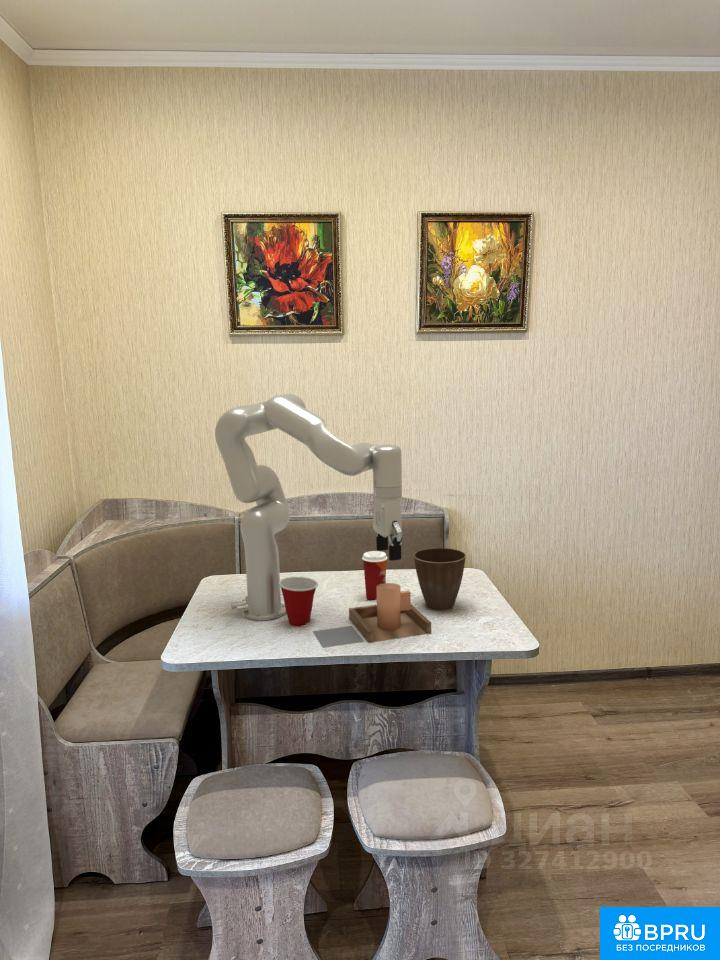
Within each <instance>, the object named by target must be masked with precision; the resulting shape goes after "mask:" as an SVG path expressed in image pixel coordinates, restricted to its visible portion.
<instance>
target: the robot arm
mask: <svg viewBox="0 0 720 960" xmlns="http://www.w3.org/2000/svg"><path fill="white" fill-rule="evenodd" d="M277 429H278V430H280V431H281V432H283V433H284V434H287V435H288V436H290V437H292V438H293V439H295V440H296V441H298V442H300V443H302V444H303V445H306V447H307V448H308V449H309V451H311V453H312V454H313V455H314V456H315V457H317V458H318V460H320V462H322V463H323V464H325V465H326V466H327V467H330V468H332V469H334V470H335V471H337V472H339V473H341V474H343V475H345V476H350V477H354V476H358V475H360V474H362V473H364V472H367V471H370V470H372V490H373V491H372V492H373V494H372V495H373V499H374V500H373V513H372V528H373V531H375V540H376V545H375V546H376V551H381V552H383V551H387V550H388V560H389V561H400V560H402V544H403V541H402V540H403V530H402V529H403V524H402V523H403V519H402V508H401V507H402V505H401V499H402V498H403V488H402V487H403V486H402V485H403V481H402V478H403V477H402V476H403V475H402V473H403V471H402V467H403V466H402V465H403V464H402V449H401V447H400V446H399V445H396V444H373V443H367V442H358V443H355V444H353V445H349V444H347V443H345V442H344V441H342V440H340V439H338V437H336V436H335V435H334V434H332V433H330V431H329V430H328V429H327V425H326V421H325V419H324V418H323V417H321V416H319V415H318V414H316V413H314V412H312V411H311V410H309V409H307V408H306V404H305V402H304V400H303V399H302V398H301V397H300V396H298V395H296V394H293V393H285V394H278V395H274V396H272V397H270V398H269V399H268V400H266V401H261V402H258V403H254V404H249V405H248V404H247V405H240V406H235V407H233V408H230V409H228V410H226V411H225V412H224V413H223V414H222V415H220V417H219V418H218V420H217V422H216V425H215V430H214V437H215V441H216V445H217V448H218V450H219V452H220V456H221V458H222V460H223V464H224V466H225V469H226V473H227V476H228V479H229V482H230V484H231V487H232V491H233V493H234V495H235V498H236V499H237V500H238V501H239V502H240V503H243V504H252V503H256V505H255V506H253V507H251V508H250V509H248V510H247V511H246V512H245V513H244V514H243V515H242V517H241V521H240V533H241V538H242V541H243V542H242V543H243V547H244V556H245V557H244V559H245V572H246V573H245V574H246V575H245V576H246V593H247V596H244V598H245V599H242V600H241V601H232V602H231V610H235V609H236V611H242V615H243V616H244V617H245V618H247V619H249V620H253V621H269V620H274V619H278V618H280V617H282V616H284V615H285V614H287V613H286V608H285V603H282V597H281V596H282V592H281V587H280V585H279V581H280V580H281V575H280V556H279V548H278V544H277V541H276V537H275V534H278V533H279V532H281V531H282V530H284V529H285V528H286V527H287V526H288V525H289V522H290V520H291V519H290V517H291V513H290V509H289V505H288V502H287V499H286V496H285V493H284V490H283V487H282V484H281V481H280V477H279V476H278V475H277V473H276V472H275V471H274V469H273V468H271V467H269V466H267V465H263V464H260V465H259V464H257V461H256V459H255V455H254V454H255V453H254V451H253V450H252V447H251V446H250V445H249V443H248V442H247V441H246V438H247V437H249V436H254V435H258V434H263V433H266V432H270V431H272V430H277Z"/></svg>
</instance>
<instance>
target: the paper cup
mask: <svg viewBox="0 0 720 960" xmlns="http://www.w3.org/2000/svg"><path fill="white" fill-rule="evenodd" d="M361 559H362V562H363V573H364V585H365V587H364V588H365V597H366V600H367V601H371V602H372V601H377V586H378V585H379V584H383V583H387V582H386V581H387V580H386V579H387V560H389V557H388V556H387V553H386V552H384V551H377V550H372V551H371V550H369V551H366V552H364V553H363V555H362V557H361Z"/></svg>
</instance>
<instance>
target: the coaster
mask: <svg viewBox="0 0 720 960" xmlns="http://www.w3.org/2000/svg"><path fill="white" fill-rule="evenodd" d="M312 633H313V634H314V636H315V638H316V640H317V641H318V643H319V644H320V646H321V648H323V649H325V648H331V647H337V646H344V645H351V644H356V643H357V644H358V643H363V642H365V641H364V639H363V638H362V637H361V634H359V633H358V632H357V629H355V628H354V626H352V625H347V626H341V627H340V626H339V627H333V628H327V629H319V630H313V631H312Z"/></svg>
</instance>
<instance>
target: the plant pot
mask: <svg viewBox="0 0 720 960" xmlns="http://www.w3.org/2000/svg"><path fill="white" fill-rule="evenodd" d="M466 558H467V555H466V553H465V552H463V551H462V550H458V549H455V548H447V547H434V548H433V547H431V548H425V549H420V550H417V551H416V552H414V553H413V560H414V567H415V572H416V576H417V580H418V585H419V589H420V591H421V594H422V597H423V600H424V603H425V605H426V607H427V609H430V610H433V611H439V612H440V611H448V610H452V609H454V606H455V603H456V601H457V598H458V594H459V593H460V592H459V591H460V589H461V586H462V585H461V584H462V580H463V576H464V570H465V565H466Z"/></svg>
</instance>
